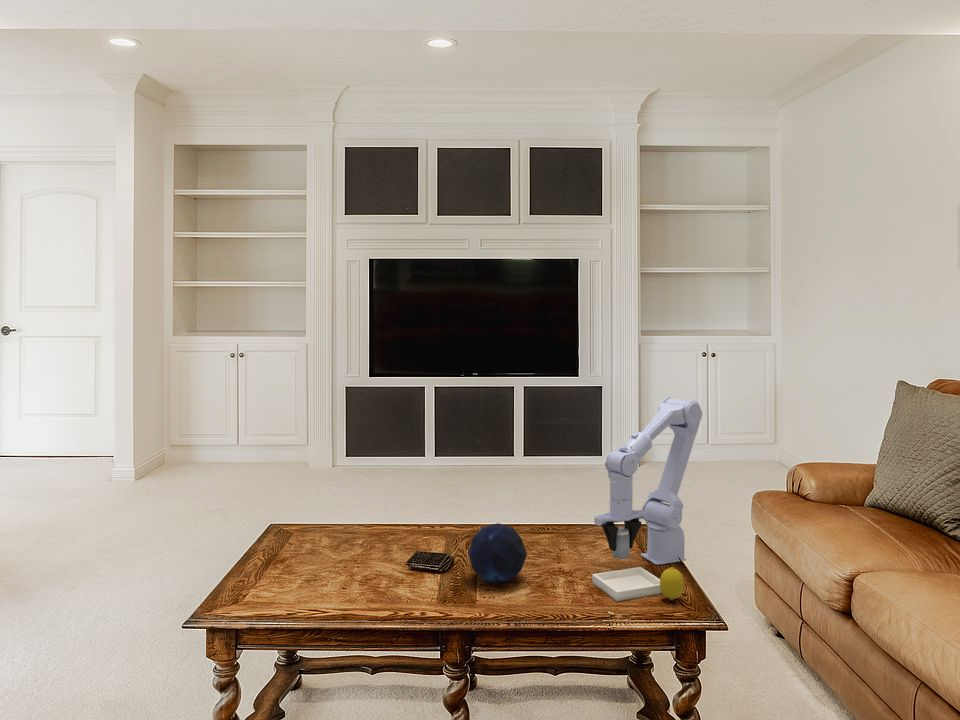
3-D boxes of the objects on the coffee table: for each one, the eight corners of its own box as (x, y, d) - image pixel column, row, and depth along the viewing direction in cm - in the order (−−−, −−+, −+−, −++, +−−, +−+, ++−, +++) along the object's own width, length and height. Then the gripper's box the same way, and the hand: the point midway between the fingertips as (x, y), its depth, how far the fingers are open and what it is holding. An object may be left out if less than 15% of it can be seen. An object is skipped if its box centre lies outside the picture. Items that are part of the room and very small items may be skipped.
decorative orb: (473, 576, 177) (507, 522, 180) (448, 556, 190) (480, 506, 193) (515, 603, 183) (547, 550, 185) (488, 581, 196) (519, 532, 199)
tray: (640, 575, 191) (640, 566, 191) (667, 592, 180) (667, 583, 180) (591, 582, 187) (591, 574, 186) (616, 601, 175) (616, 592, 175)
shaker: (623, 551, 196) (624, 526, 196) (632, 557, 192) (632, 531, 192) (609, 554, 195) (609, 528, 194) (617, 559, 191) (617, 533, 190)
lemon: (679, 606, 172) (680, 573, 171) (656, 601, 175) (656, 568, 174) (686, 598, 177) (687, 565, 176) (663, 593, 180) (664, 561, 179)
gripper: (637, 490, 198) (636, 540, 200) (588, 496, 193) (588, 547, 195) (651, 497, 192) (651, 548, 193) (602, 503, 187) (602, 556, 188)
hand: (620, 548), depth 193 cm, fingers closed on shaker, 4 cm apart
